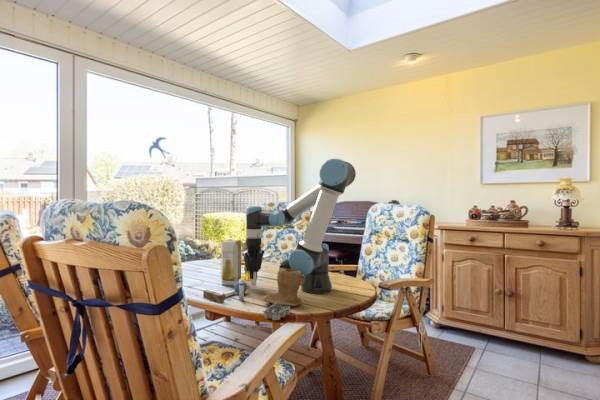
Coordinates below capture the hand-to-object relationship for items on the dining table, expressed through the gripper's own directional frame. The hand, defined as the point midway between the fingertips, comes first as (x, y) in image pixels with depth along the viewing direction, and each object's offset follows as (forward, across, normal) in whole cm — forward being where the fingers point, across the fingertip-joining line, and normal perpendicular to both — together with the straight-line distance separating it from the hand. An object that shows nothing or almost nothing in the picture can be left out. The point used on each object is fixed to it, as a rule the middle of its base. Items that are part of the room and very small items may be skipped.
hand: (253, 285), depth 164 cm
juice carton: (+2, +1, -16) cm, 16 cm away
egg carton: (+3, +19, +35) cm, 40 cm away
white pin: (+1, +12, +1) cm, 12 cm away
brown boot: (+2, +7, +27) cm, 28 cm away
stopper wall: (+2, +24, 0) cm, 24 cm away
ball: (-1, +9, +2) cm, 10 cm away
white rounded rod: (+2, +16, +10) cm, 19 cm away
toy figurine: (+2, -30, 0) cm, 30 cm away
